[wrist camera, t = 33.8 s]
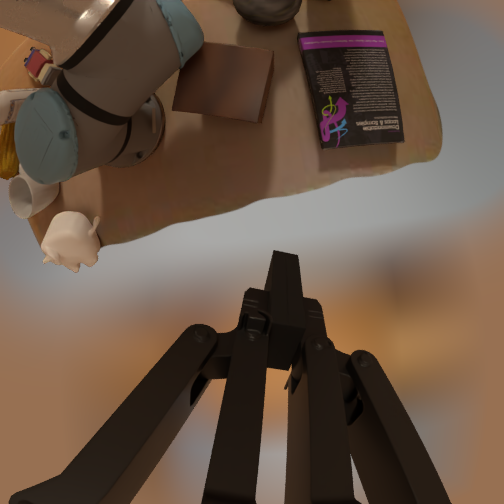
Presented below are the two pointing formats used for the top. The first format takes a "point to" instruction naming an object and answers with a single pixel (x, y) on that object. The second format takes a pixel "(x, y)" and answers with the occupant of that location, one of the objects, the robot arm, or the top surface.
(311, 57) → the box
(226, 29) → the top surface
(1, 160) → the food
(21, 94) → the bath foam
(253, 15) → the decorative stone
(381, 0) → the top surface
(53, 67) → the toy
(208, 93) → the lid
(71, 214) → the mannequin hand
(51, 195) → the mug
